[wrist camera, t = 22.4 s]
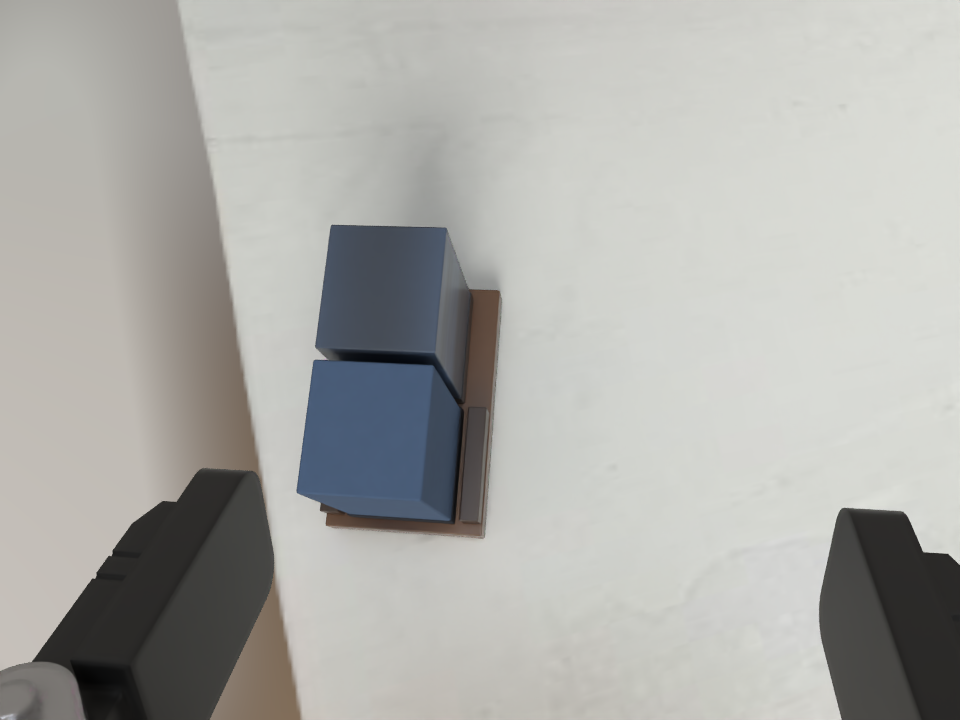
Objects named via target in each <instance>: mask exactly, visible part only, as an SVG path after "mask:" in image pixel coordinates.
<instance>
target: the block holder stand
mask: <svg viewBox="0 0 960 720" xmlns="http://www.w3.org/2000/svg"><path fill="white" fill-rule="evenodd" d="M501 305H502V298H501V294H500V291H498V290H472V289H468V286H467V284H466V281H465V278H464V275H463V273H462V270H461V267H460V264H459V262H458V259H457V256H456V253H455V250H454V248H453V245H452V242H451V239H450V237H449V234H448V231H447V228H436V227H396V226H356V225H331V228H330V236H329V244H328V251H327V259H326V267H325V275H324V282H323V290H322V298H321V306H320V313H319V321H318V329H317V337H316V345H315V347H316V349H318V350H319V351H320V352H321V353H322V354H323V355H324V356H325V357H326V358H327V359H328V360H333V361H354V362H376V363H397V364H419V365H433V366H434V367H435V369H436V371H437V372H438V374H439V375H440V377H441V379H442V380H443V382H444V383H445V385H446V387H447V388H448V390H449V392H450V393H451V395H452V396H453V398H454V400H455V401H456V403H457V404H458V406H459V407H462V409H463V411H464V422H463V434H462V446H461V458H460V470H459V482H458V494H457V506H456V518H455V524H444V523H429V522H415V521H401V520H386V519H372V518H357V517H351V516H349V515H347V513H346V512H343V511H341V510H338V509H336V508H333V507H331V506H328V505H326V504H323V503H321V506H320V511H322V512H325V513H327V517H326V525H327V526H329V527H332V528H342V529H356V530H371V531H385V532H399V533H414V534H428V535H443V536H457V537H471V538H484V537H485V524H486V510H487V497H488V483H489V469H490V456H491V442H492V428H493V415H494V401H495V387H496V374H497V360H498V346H499V333H500V319H501Z"/></svg>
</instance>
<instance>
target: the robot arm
mask: <svg viewBox="0 0 960 720" xmlns="http://www.w3.org/2000/svg"><path fill="white" fill-rule="evenodd" d="M273 572H274V552H273V546H272V541H271V536H270V531H269V525H268V520H267V515H266V510H265V504H264V499H263V494H262V489H261V484H260V480H259V477H258V476H257V474H256V473H255V472H253V471H243V470H226V469H208V468H203V469H201V470H199V471H198V472H197V473H196V474H195V476H194V477H193V479H192V480H191V481H190V483H189V485H188V486H187V487H186V489H185V490H184V492H183V493H182V495H181V496H180V498H179V499H178V501H177V502H168V501H162V502H161V503H159V504H158V505H157V506H155V507H154V508H153V509H151V510H150V511H149V512H147V513H146V514H145V515H143V516H142V517H141V518H139V519H138V520H137V521H135V522H134V523H133V524H132V525H131V526H130V527H129V529H128V530H127V531H126V533H125V534H124V536H123V537H122V538H121V540H120V541H119V542H118V544H117V545H116V547H115V548H114V549H113V554H112V556H108V558H107V559H106V560H105V562H104V563H103V565H102V566H101V567H100V569H99V570H98V572H97V576H96V579H92V580H91V581H90V583H89V584H88V585H87V587H86V588H85V590H84V591H83V592H82V594H81V595H80V596H79V598H78V599H77V600H76V602H75V603H74V605H73V606H72V608H71V609H70V610H69V612H68V613H67V614H66V616H65V617H64V618H63V620H62V621H61V623H60V624H59V625H58V627H57V628H56V630H55V631H54V632H53V634H52V635H51V636H50V638H49V639H48V641H47V642H46V643H45V645H44V646H43V647H42V649H41V650H40V652H39V653H38V655H37V656H36V657H35V659H34V660H33V661H32V662H29V663H24V664H19V665H16V666H13V667H9V668H7V669H4V670H2V671H0V720H210V718H211V715H212V713H213V711H214V709H215V707H216V705H217V703H218V701H219V698H220V696H221V694H222V692H223V690H224V688H225V686H226V683H227V681H228V679H229V677H230V675H231V673H232V671H233V669H234V666H235V664H236V662H237V660H238V658H239V656H240V654H241V652H242V650H243V647H244V645H245V643H246V641H247V639H248V637H249V635H250V633H251V630H252V628H253V626H254V624H255V622H256V620H257V618H258V616H259V613H260V612H261V609H262V607H263V605H264V603H265V601H266V599H267V596H268V594H269V591H270V588H271V584H272V578H273ZM819 622H820V633H821V639H822V644H823V648H824V652H825V656H826V660H827V664H828V667H829V671H830V675H831V679H832V683H833V687H834V691H835V695H836V699H837V703H838V707H839V710H840V714H841V718H842V720H960V565H959V564H958V563H957V562H956V561H955V560H954V559H953V558H952V557H951V556H950V555H949V554H940V553H925V552H923V551H922V548H921V546H920V544H919V541H918V539H917V537H916V535H915V532H914V530H913V528H912V525H911V523H910V521H909V519H908V517H907V515H906V514H905V513H904V512H901V511H887V510H871V509H854V508H842V509H841V510H840V512H839V514H838V516H837V520H836V524H835V529H834V533H833V538H832V543H831V547H830V552H829V557H828V561H827V566H826V571H825V575H824V580H823V585H822V589H821V595H820V605H819Z"/></svg>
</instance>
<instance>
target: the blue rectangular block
mask: <svg viewBox="0 0 960 720" xmlns="http://www.w3.org/2000/svg"><path fill="white" fill-rule="evenodd" d="M463 422H464V411H463V409H462V407H459V406H458V404H457V403H456V401H455V400H454V398H453V396H452V395H451V393H450V392H449V390H448V388H447V387H446V385H445V383H444V382H443V380H442V379H441V377H440V375H439V374H438V372H437V371H436V369H435V367H434V366H433V365H419V364H397V363H376V362H354V361H333V360H314V362H313V369H312V376H311V384H310V392H309V399H308V407H307V415H306V423H305V430H304V438H303V446H302V453H301V461H300V469H299V476H298V484H297V493H298V494H300V495H303V496H305V497H308V498H311V499H313V500H316V501H318V502H321V503H323V504H326V505H328V506H331V507H333V508H336V509H338V510H341V511H343V512H346V513H347V515H349V516H351V517H357V518H372V519H386V520H401V521H415V522H429V523H444V524H455V518H456V506H457V494H458V482H459V470H460V458H461V446H462V434H463Z"/></svg>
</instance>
